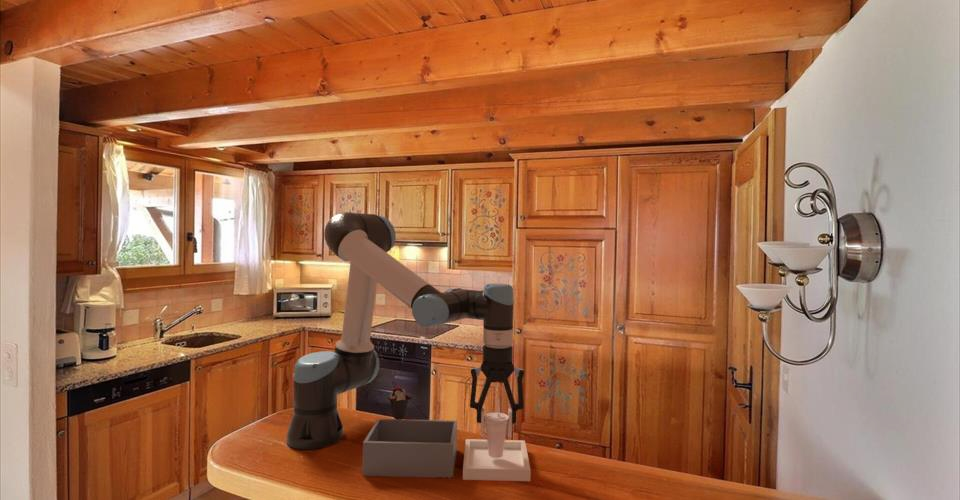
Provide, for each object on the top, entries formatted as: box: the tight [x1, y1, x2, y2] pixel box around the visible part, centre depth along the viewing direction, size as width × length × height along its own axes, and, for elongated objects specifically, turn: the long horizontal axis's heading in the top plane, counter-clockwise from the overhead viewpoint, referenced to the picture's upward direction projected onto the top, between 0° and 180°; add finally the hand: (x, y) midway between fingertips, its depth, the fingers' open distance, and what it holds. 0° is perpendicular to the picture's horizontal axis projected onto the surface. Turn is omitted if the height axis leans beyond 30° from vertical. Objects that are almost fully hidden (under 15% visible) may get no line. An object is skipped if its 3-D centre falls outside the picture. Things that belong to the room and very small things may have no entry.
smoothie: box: [484, 399, 509, 458], centre depth 115 cm, size 6×6×14 cm
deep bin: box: [362, 418, 458, 479], centre depth 115 cm, size 22×15×8 cm
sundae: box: [387, 381, 412, 419], centre depth 134 cm, size 7×7×15 cm
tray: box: [462, 438, 531, 482], centre depth 115 cm, size 16×16×3 cm
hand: (496, 435), depth 115 cm, fingers closed on smoothie, 6 cm apart
